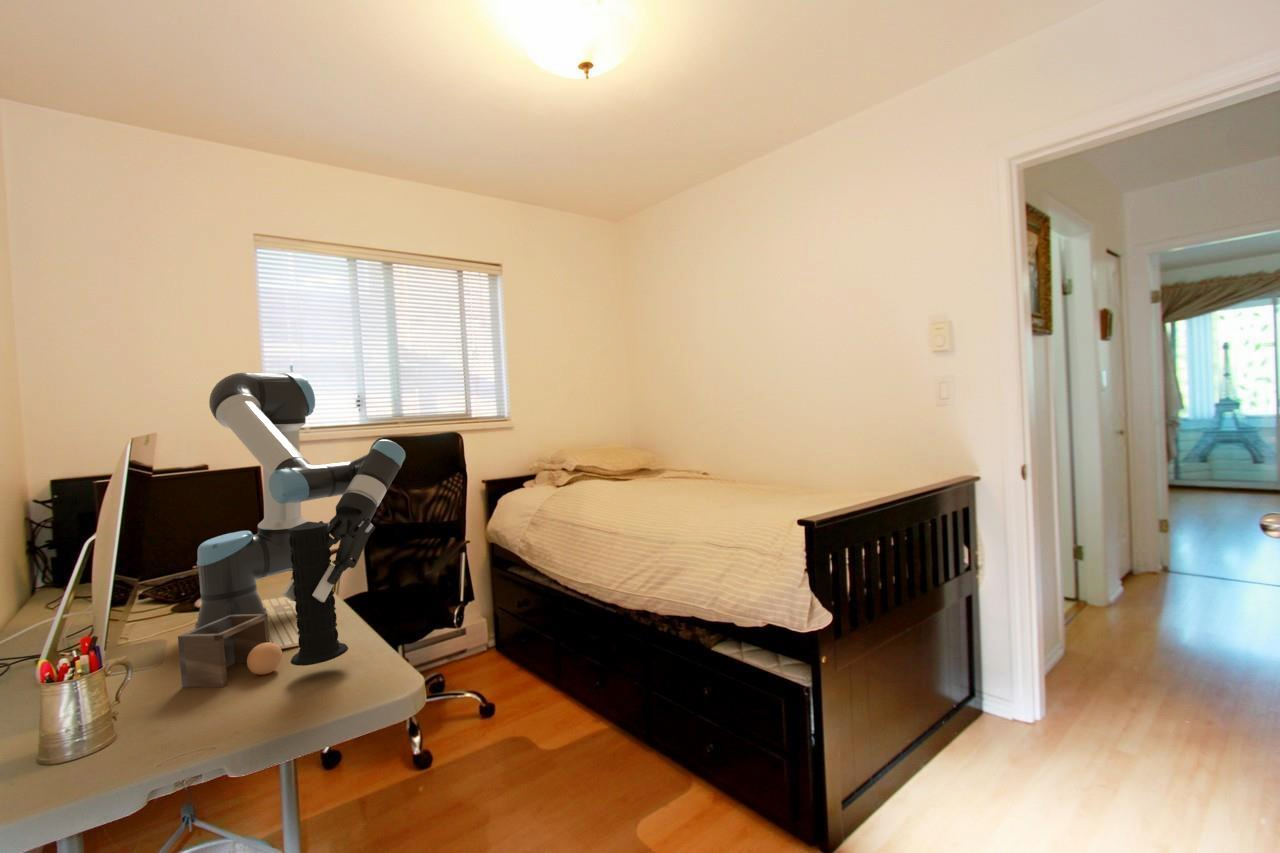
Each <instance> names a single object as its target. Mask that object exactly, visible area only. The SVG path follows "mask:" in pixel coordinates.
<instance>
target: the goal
mask: <svg viewBox="0 0 1280 853" xmlns="http://www.w3.org/2000/svg"><path fill="white" fill-rule="evenodd" d="M270 638H271V637H270V625H269V615H268V613H267V614H241V615H228V616H226V617H224V618H221V619H219V620H216V621H214V622H211V623H209V624H207V625H204V626H202V627H199V628H197V629H195V628H194V629H193V630H190V631H187V632H185V633H183V634H181V635H178V636H177V641H178V642H177V643H178V653H179V654H178V656H179V664H180V675H181V687H182V688H224V687H226V686H228V676H227V675H228V674H227V668H228V667H230V666H233V665H235V664H244V663H245V664H247V658H248V655H249V653H250V652H251V650H252V649H253V648H255V647H256V646H257V645H259V644H262V643H267V642H269V643H271V640H270Z"/></svg>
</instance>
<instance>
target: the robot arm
mask: <svg viewBox="0 0 1280 853" xmlns="http://www.w3.org/2000/svg"><path fill="white" fill-rule="evenodd" d="M315 396H316V395H315V393H314V389H313V387H312V385H311V383H310V382H309V381H308V379H307V378H305V377H303V376H302V375H300V374H295V373H285V372H282V373H281V372H278V373H276V372H275V373H274V372H273V373H272V372H267V373H266V372H236V373H232V374H230V375H228V376H225V377H223V378H222V379H221V380H219V381H218V382H217V383H216V384H215V386H213V389H212V390H211V393H210V395H209V399H208V400H209V401H208V402H209V403H208V404H209V408H210V411H211V414H212V416H213V417H214V419H215V420H216V421H217V423H219V424H220V425H221V426H222V427H224V428H227V429H230V430H231V431H232V432H233V433H234V434H235V436H236V437H237V438H238V439H239V440H240V442H241V443H242V444H243V445H244V447H245V448H246V449H247V450H248V451H249V452H250V453H251V454H252V455H253V457H254V458H255V459H256V460H257V461H258V462H259V464H260V465H261V466H262V478H263V479H262V481H263V483H262V485H263V519H262V520H261V521H260V522H258V524H257V533H256V534H253V532H252V531H250V530H239V531H235V532H229V533H226V534H222V535H218V536H215V537H212V538H210V539H207V540H205V541H203V542H201V544H200V545H199V546H198V548H197V561H196V565H197V569H198V571H197V572H198V580H199V591H200V602H201V603H200V607H199V610H198V616H197V620H196V621H197V622H196V623H195V624H194V630H195V629H197V628H199V627H202V626H204V625H207V624H209V623H211V622H214V621H216V620H219V619H221V618H224V617H226V616H228V615H241V614H268V611H267V609H266V608H265V607H264V604H263V602H262V599H261V597H260V595H259V593H258V589H257V588H258V586H257V580H259V579H263V578H268V577H271V576H275V575H278V574H282V573H287V572H293V569H292V566H293V564H292V562H291V554H292V553H291V552H290V550H291V549H292V548H291V546H290V544H289V539H290V536H291V535H290V534H289V531H288V529H290V528H293V527H295V526H298V525H300V524H303V523H305V522H308V520H307V519H306V518H305V517H303V516H302V502H303V503H304V502H307V501H314V500H318V499H324V498H331V497H337V496H341V497H340V499H339V501H338V502H337V504H336V506H335V516H333V517H332V518H331V519H330V521H328V522H326V523H328V528H327V531H328V533H329V542H328V543H329V544H330V546H329V549H331V548H332V546H333V545H337V544H338V543H339V544H338V548H337V552H336V556H335V559H334V560H331V565H329V567H328V569H327V571H326V572H325V574H324V576H323V577H322V579H321V581H320V582H319V584H318V586H317V588H316V589H315V591H314V593H313V594H312V596H314V597H315V598H316V599H318V600H319V601H321V602H325V600H326V598H327V597H328V595H329V593H330V591H331V589H332V588H333V586H334V587H335V585H337V583H338V582H339V580H340V578H341V577H342V574H343V573H344V572H345V571H347V569H349V568H351V569H354V568H355V567H357V564H358V562H359V560H360V557H361V555H362V553H363V551H364V548H365V547H366V544H367V542H368V540H369V537H370V536H371V535H372V533H373V532H374V531H375V529H376V526H375V525H374V524H372V522H371V521H372V519H373V517H374V515H375V513H376V512H377V509H378V507H379V506H380V505H381V502H382V500H383V499H384V497H385V495H386V493H387V492H388V491H389V488H390V486H391V485H392V482H393V481H394V479H395V477H396V476H397V474H398V472H399V470H400V469H401V468H402V465H403V462H404V461H405V459H406V451H405V450H404V449H403V447H402V446H400V445H399V444H398V443H397V442H394V441H392V440H390V439H380V440H377V441H376V442H375V444H373V446H371V448H370V450H369V452H368V453H367V454H366V455H363V456H361V457H359V458H356V459H354V460H351V461H345V462H337V463H336V462H335V463H326V464H325V463H323V464H316V465H314V464H313V465H312V464H311V463H310V462H309V461H308V460H307V459H306V458H305V457H304V456H303V455H302V454H301V449H300V448H301V447H300V445H301V443H300V441H301V439H300V429H301V428H303V426H304V425H306V419H307V418H306V417H309V416H311V415H312V414H313V413H314V409H315V407H316V397H315ZM318 523H325V522H324V521H322V520H321V521H319V522H318ZM333 564H334V565H333ZM293 583H294V580H293V577H292V576H291V578H290V582H289V583H288V585H287V587H286V588H285V590H284V592H283V593H282V596H284V597H285V598H287V599H288V600H290V601H291V602H295V599H296V597H295V595H294V587H295V586H294V585H293ZM333 589H334V588H333Z"/></svg>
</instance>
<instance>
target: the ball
mask: <svg viewBox="0 0 1280 853" xmlns="http://www.w3.org/2000/svg"><path fill="white" fill-rule="evenodd" d="M282 661H283V650H282V648H281V647H280V646H279V645H278V644H277V643H274V642H270V643H269V642H267V643H262V644H259V645H257V646H256V647H255V648H253V649H252V650H251V652H250V653H249V655H248V658H247V663H246V665H247V668H248V670H250V671H251V673H252V674H255V675H259V676H260V675H269V674H270V673H272V672H273V671H275V670H276V669H278V667H279V666H280V665H281V663H282Z"/></svg>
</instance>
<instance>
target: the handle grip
mask: <svg viewBox="0 0 1280 853" xmlns="http://www.w3.org/2000/svg"><path fill="white" fill-rule="evenodd" d="M327 528H328V523H327V522H324V523H319V522H315V521H307V522H305V523H303V524H300V525H298V526H295V527H293V528H290V529H288V531H289V534H290V535H291V536H290V539H289V544H290V546H291V548H292V549H291V550H290V552H291V553H292V554H291V562H292V564H293V566H292V569H293V571H291V574H292V575H291V578H292V577H293V580H294V583H293V585H294V586H295V587H294V595H295V597H296V599H295V601H294V602H295V605H294V606H295V609H294V610H295V612H296V615H295V616H296V617H295V618H296V628H297V630H298V631H297V634H298V640H297V642H298V646H299V650H298V652H296V653H295V654H294V655H293V656H292V657H291V660H290V664H291V665H293V666H299V667H300V666H302V667H304V666H311V665H317V664H322V663H325V662H328V661H331V660H334V659H337V658H338V657H340V656H342V655H344V654H345V653H347V652H348V651H349V646H348V644H346V643H344V642H340V641H339V640H338V638H339V631H338V629H337V626H338V623H337V619H338V618H337V613H336V610H337V608H336V606H335V605H336V599H335V598H336V597H335V596H334V595H335V591H334V588H335V585H334V586H333V588H332V589H331V591H330V593H329V595H328V597H327V598H326V600H325V602H321V601H319V600H318V599H316V598H315V597H314V596H312V594H313V593H314V591H315V589H316V588H317V586H318V584H319V582H320V581H321V579H322V577H323V576H324V574H325V572H326V571H327V569H328V567H329V565H332V559H331V556H332V553H331V548H329V546H330V544H329V543H328V542H329V533H328V531H327Z"/></svg>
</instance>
